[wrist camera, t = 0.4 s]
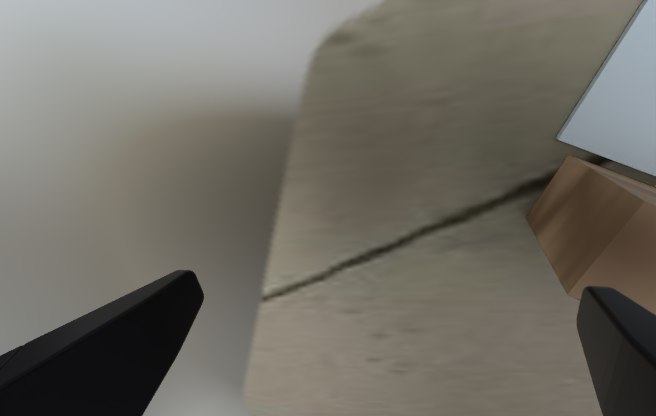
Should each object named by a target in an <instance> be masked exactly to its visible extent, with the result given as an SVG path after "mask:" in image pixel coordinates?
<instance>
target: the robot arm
mask: <svg viewBox="0 0 656 416" xmlns="http://www.w3.org/2000/svg"><path fill="white" fill-rule="evenodd" d="M203 300H204V294H203V291H202V288H201V286H200V284H199V282H198V279H197V277H196V275H195V273H194V272H193V271H191V270H177V271H175V272H172V273H170V274H168V275H166V276H164V277H162V278H160V279H158V280H156V281H154V282H152V283H150V284H148V285H146V286H144V287H141V288H139V289H137V290H135V291H133V292H131V293H129V294H127V295H125V296H123V297H121V298H119V299H117V300H115V301H113V302H111V303H108V304H106V305H104V306H102V307H100V308H98V309H96V310H94V311H92V312H90V313H88V314H86V315H84V316H81V317H79V318H77V319H76V320H73V321H71V322H69V323H67V324H65V325H63V326H61V327H59V328H57V329H55V330H53V331H51V332H48V333H47V334H44V335H42V336H40V337H38V338H36V339H34V340H32V341H30V342H28V343H26V344H25V345H24V346H19V347H17V348H15V349H13V350H11V351H9V352H7V353H5V354H3V355H1V356H0V416H142V415H143V413H144V412H145V410H146V408H147V406H148V405H149V403H150V401H151V400H152V398H153V396H154V395H155V393H156V391H157V389H158V388H159V386H160V384H161V383H162V381H163V379H164V377H165V376H166V374H167V372H168V371H169V369H170V367H171V365H172V364H173V362H174V360H175V358H176V357H177V355H178V353H179V351H180V349H181V347H182V345H183V343H184V341H185V339H186V337H187V335H188V332H189V330H190V328H191V326H192V324H193V322H194V320H195V318H196V316H197V314H198V311H199V309H200V307H201V305H202V303H203ZM577 329H578V333H579V336H580V340H581V343H582V347H583V350H584V354H585V357H586V360H587V364H588V367H589V371H590V374H591V378H592V381H593V385H594V388H595V391H596V395H597V398H598V401H599V405H600V408H601V411H602V414H603V416H656V315H655V314H654V313H652V312H651V311H649V310H647V309H646V308H644V307H643V306H641V305H640V304H638V303H636V302H635V301H633V300H632V299H630V298H629V297H627V296H625V295H624V294H622V293H621V292H619V291H618V290H616V289H614V288H612V287H604V286H587V287H585V288H584V289H583V291H582V295H581V300H580V305H579V310H578V315H577Z"/></svg>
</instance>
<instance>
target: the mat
mask: <svg viewBox="0 0 656 416" xmlns="http://www.w3.org/2000/svg"><path fill="white" fill-rule="evenodd" d="M556 139H557V140H560V141H562V142H565V143H568V144H571V145H573V146H576V147H579V148H581V149H584V150H587V151H589V152H592V153H595V154H597V155H600V156H603V157H605V158H608V159H611V160H613V161H616V162H619V163H621V164H624V165H627V166H629V167H632V168H635V169H637V170H640V171H643V172H645V173H648V174H651V175H653V176H656V0H644V1H643V2H642V4H641V5H640V7H639V8H638V10H637V11H636V13H635V15H634V16H633V18H632V19H631V21H630V22H629V24H628V26H627V27H626V29H625V30H624V32H623V33H622V35H621V36H620V38H619V40H618V41H617V43H616V44H615V46H614V47H613V49H612V51H611V52H610V54H609V55H608V57H607V58H606V60H605V61H604V63H603V65H602V66H601V68H600V69H599V71H598V72H597V74H596V76H595V77H594V79H593V80H592V82H591V83H590V85H589V87H588V88H587V90H586V91H585V93H584V94H583V96H582V97H581V99H580V101H579V102H578V104H577V105H576V107H575V108H574V110H573V112H572V113H571V115H570V116H569V118H568V119H567V121H566V122H565V124H564V126H563V127H562V129H561V130H560V132H559V133H558V135H557V137H556Z"/></svg>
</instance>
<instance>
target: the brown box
mask: <svg viewBox="0 0 656 416" xmlns="http://www.w3.org/2000/svg"><path fill="white" fill-rule="evenodd" d="M526 219H527V221H528V223H529V225H530V227H531V228H532V230H533V232H534V234H535V236H536V238H537V240H538V241H539V243H540V245H541V247H542V249H543V251H544V252H545V254H546V256H547V258H548V260H549V262H550V264H551V265H552V267H553V269H554V271H555V273H556V275H557V276H558V278H559V280H560V282H561V284H562V286H563V287H564V289H565V291H566V293H567V295H570V296H572V297H574V298H576V299H579V300H581V295H582V291H583V289H584V288H585V287H587V286H604V287H612V288H614V289H616V290H618V291H619V292H621V293H622V294H624V295H625V296H627V297H629V298H630V299H632V300H633V301H635V302H636V303H638V304H640V305H641V306H643V307H644V308H646V309H647V310H649V311H651V312H652V313H654V314H655V315H656V187H653V186H651V185H648V184H645V183H643V182H640V181H637V180H635V179H632V178H630V177H627V176H624V175H622V174H619V173H616V172H614V171H611V170H608V169H606V168H603V167H601V166H598V165H595V164H593V163H590V162H587V161H585V160H582V159H579V158H577V157H574V156H572V155H568V156H567V158H566V159H565V161H564V162H563V163H562V165H561V166H560V168H559V169H558V171H557V172H556V174H555V175H554V177H553V178H552V180H551V181H550V183H549V184H548V186H547V187H546V189H545V190H544V192H543V193H542V195H541V196H540V198H539V199H538V201H537V202H536V204H535V205H534V207H533V208H532V210H531V211H530V213H529V214H528V216H527V217H526Z"/></svg>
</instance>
